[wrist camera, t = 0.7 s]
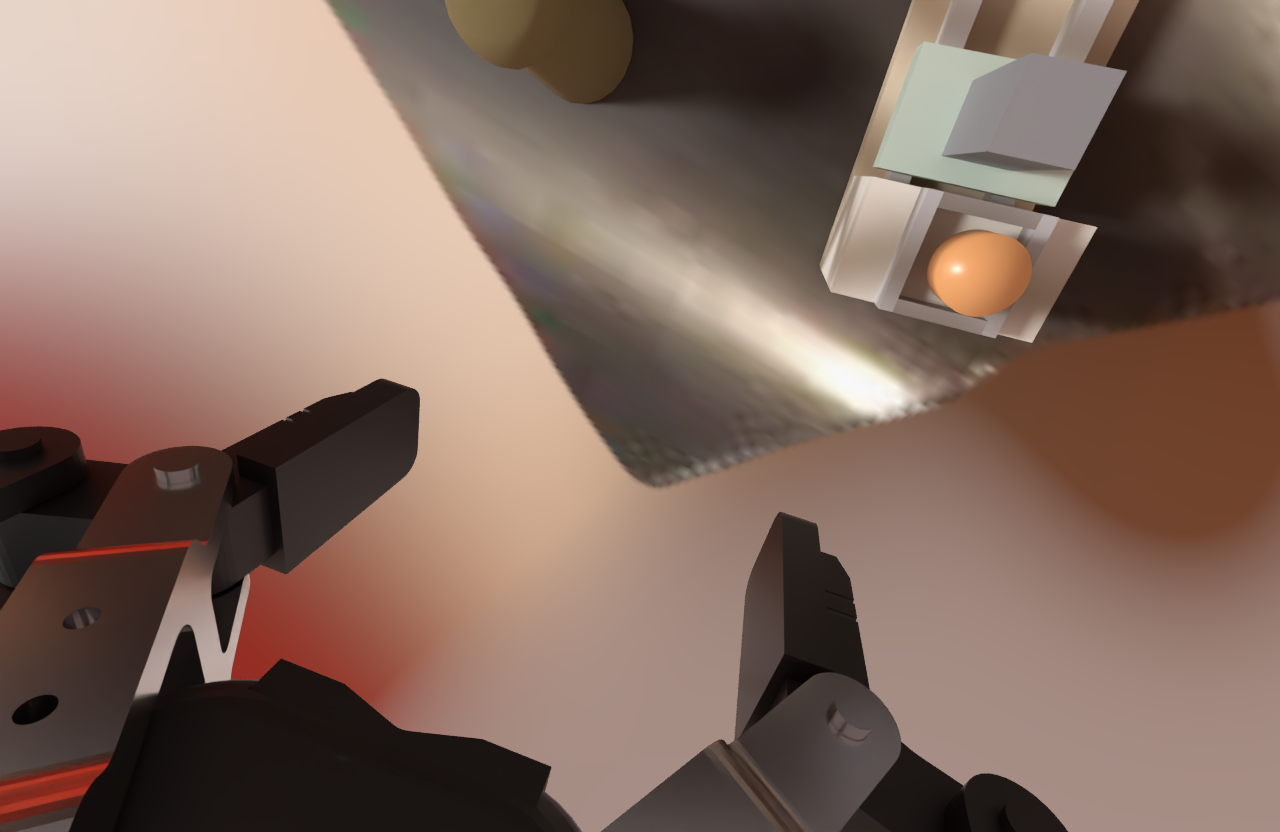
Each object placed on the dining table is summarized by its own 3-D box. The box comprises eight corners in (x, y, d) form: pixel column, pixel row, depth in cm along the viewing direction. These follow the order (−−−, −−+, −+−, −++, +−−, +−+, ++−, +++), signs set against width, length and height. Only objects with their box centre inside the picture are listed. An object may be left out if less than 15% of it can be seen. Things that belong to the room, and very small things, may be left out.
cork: (654, 20, 29) (591, -58, 19) (597, 126, 32) (517, 105, 22) (563, -52, 29) (452, -168, 19) (513, 62, 31) (394, 13, 22)
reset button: (947, 221, 21) (962, 225, 19) (1025, 239, 21) (1048, 245, 19) (914, 294, 22) (926, 305, 21) (987, 313, 22) (1006, 325, 20)
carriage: (916, 48, 24) (968, 1, 18) (1101, 85, 23) (1230, 50, 17) (872, 167, 27) (904, 165, 20) (1040, 204, 26) (1132, 216, 19)
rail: (1045, -378, 21) (1218, -733, 13) (1315, -350, 20) (1698, -720, 11) (818, 265, 32) (833, 296, 24) (983, 306, 31) (1057, 354, 23)
